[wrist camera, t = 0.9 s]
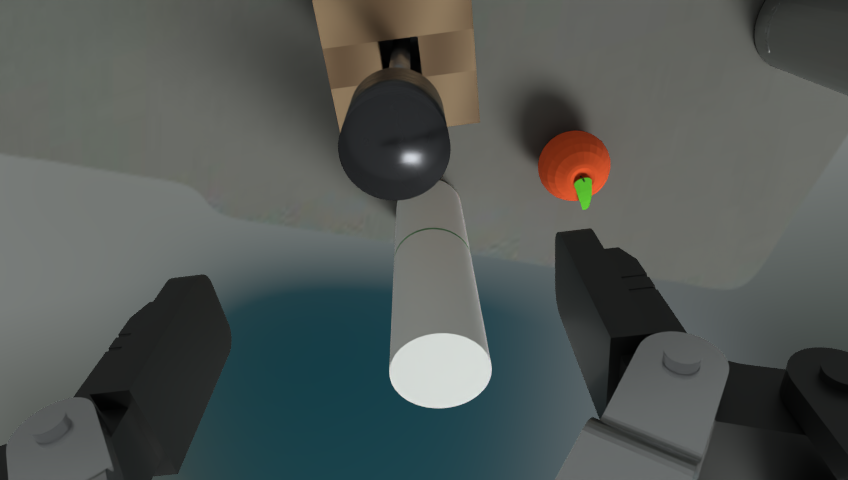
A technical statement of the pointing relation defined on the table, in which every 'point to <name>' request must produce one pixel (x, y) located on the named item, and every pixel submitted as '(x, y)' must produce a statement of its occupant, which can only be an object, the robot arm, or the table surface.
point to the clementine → (574, 166)
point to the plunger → (395, 128)
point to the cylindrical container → (436, 305)
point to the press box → (393, 19)
